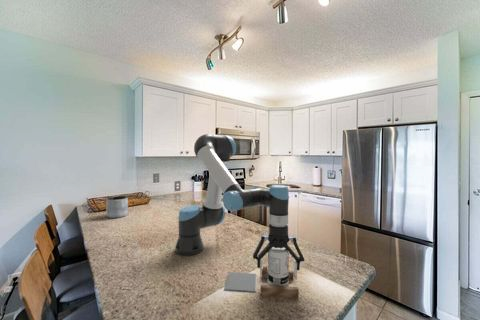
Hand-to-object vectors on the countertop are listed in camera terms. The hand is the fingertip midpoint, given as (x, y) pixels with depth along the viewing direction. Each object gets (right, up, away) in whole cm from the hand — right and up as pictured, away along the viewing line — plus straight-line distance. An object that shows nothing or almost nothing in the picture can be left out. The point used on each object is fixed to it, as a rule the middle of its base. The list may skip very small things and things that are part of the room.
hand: (277, 276), depth 85 cm
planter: (-120, -1, +95) cm, 153 cm away
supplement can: (0, -4, 0) cm, 4 cm away
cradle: (0, -4, 0) cm, 4 cm away
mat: (-15, -4, +2) cm, 15 cm away
